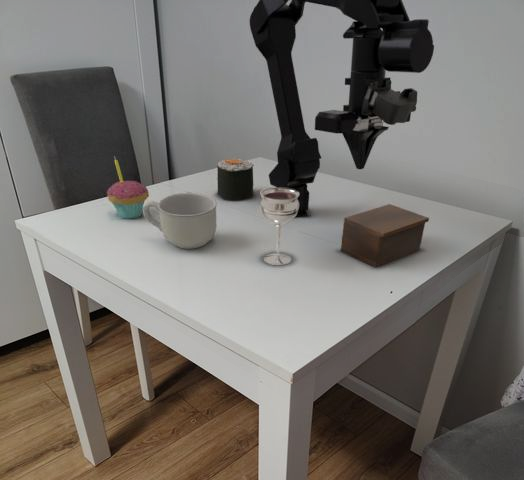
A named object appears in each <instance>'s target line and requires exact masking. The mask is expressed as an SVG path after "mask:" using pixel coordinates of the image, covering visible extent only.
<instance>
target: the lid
mask: <svg viewBox="0 0 524 480" xmlns="http://www.w3.org/2000/svg"><path fill="white" fill-rule="evenodd" d="M429 220H430V218H429V217H428V216H424V215H422V214H419V213H416V212H413V211H410V210H409V209H405V208H402V207H399V206H396V205H394V204H391V203H389V204H385V205H382V206H378V207H375V208H372V209H369V210H366V211H365V210H364V211H362V212H359V213H356V214H352V215H349V216H345V217H343V223H344V222H347V223H349V224H352V225H354V226H357V227H359V228H361V229H364V230H366V231H369V232H371V233H373V234H376V235H378V236H381V237H386V236H389V235H391V234H394V233H397V232H400V231H403V230H406V229H408V228H411V227H414V226H417V225H420V224H423V223H425V224H426V223H429Z"/></svg>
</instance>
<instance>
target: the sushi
mask: <svg viewBox="0 0 524 480" xmlns="http://www.w3.org/2000/svg"><path fill="white" fill-rule="evenodd" d="M217 163H218V165H217V195H218V196H219V197H220V198H221V199H223V200H226V201H233V202H235V201H241V200H246V199H251V198H252V197H253V196H254V166H255V165H254V164H253V163H252V162H250V161H248V160H244V159H239V158H232V157H230V158H229V159H222V160H221V161H218V162H217Z"/></svg>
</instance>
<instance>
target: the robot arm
mask: <svg viewBox="0 0 524 480" xmlns="http://www.w3.org/2000/svg"><path fill="white" fill-rule="evenodd" d="M288 2H289V0H259V1H258V2H257V4H256V5H255V6H254V8H253V10H252V12H251V14H250V16H249V28H250V33H251V35H252V38H253V42H254V46H255V47H256V48H257V50H258V51H259V53H260V54H261V56H262V57H263V58H264V59H265V62H266V65H267V71H268V75H269V76H268V77H269V80H270V86H271V91H272V96H273V100H274V105H275V110H276V111H275V112H276V116H277V121H278V125H279V126H278V127H279V132H280V141H279V144H278V148H277V152H276V156H277V164H276V165H275V166H274V168H272V170H271V171H270V172H269V173H268V179H269V180H268V181H269V185H271V186H273V187H284V188H291V189H294V190H296V191H298V192H299V193H300V194H299V196H298V198H297V200H298V201H299V210H298V213H297V215H296V216H295V217H306V216H308V210H309V206H310V205H309V203H310V191H309V189H308V184H313V183H314V182H315V179H316V175H317V173H318V171H319V169H320V168H321V159H322V156H321V153H320V150H319V141H318V138H317V137H313V138H312V137H310V136H309V134H308V132H306V127H305V121H304V116H303V111H302V106H301V100H300V95H299V94H300V93H299V88H298V83H297V78H296V73H295V67H294V62H293V56H292V52H293V48H294V45H295V41H296V38H297V32H296V30H297V29H296V26H297V24H298V23H299V22H300V20H301V19H302V18H303V15H304V10H305V4H306V3H310V4H316V5H321V6H325V7H331V8H335V9H337V10H339V11H340V12H341V13H342V15H344V16H346V17H348V18H350V19H352V20H354V21H352V23H351V24H350V27H348V28H347V29H346V30H345V31H344V32H343V34H342V38H343V39H344V40H345V39H347V40H348V39H352V48H351V64H350V76H349V77H345V78H344V86H349V93H348V104H343V105H342V106H343V107H342V110H337V109H330V110H322V111H318V112H317V114H316V116H315V117H314V131H319V132H325V133H330V134H342V136H343V138H344V141H345V142H346V144H347V147H348V149H349V152H350V154H351V158H352V160H353V162H354V166H355V169H357V170H364V168H365V166H366V165H367V162H368V159H369V157H370V154H371V152H372V150H373V147H374V145H375V143H376V140H377V139H378V137H379V136H380V135H382V134H383V133H384V132H385V131H388V130H389V129H390V126H394V125H397V124H405V123H409V122H410V121H411V115H412V113H414V112H416V110H417V104H418V91H417V90H416V89H414V88H413V87H409V88H404V89H403V90H402V91H400V90H397V91H396V90H393V89H392V80H391V77H386V74H387V72H391V73H415V74H420V73H423V72H424V71H425V70H426V69H427V68H428V67H429V65H430V63H431V61H432V59H433V56H434V51H435V44H434V39H433V35H432V32H431V31H430V29H429V23H430V22H429V21H430V20H429V19H426V18H424V19H423V18H422V19H412V20H410V17H409V14H408V11H407V10H406V8H405V5H404V2H403V0H290V2H289V4H287V3H288ZM384 123H385V124H386V125H390V126H385V125H384Z"/></svg>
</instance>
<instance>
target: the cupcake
mask: <svg viewBox="0 0 524 480" xmlns="http://www.w3.org/2000/svg"><path fill="white" fill-rule="evenodd" d="M113 158H114V164H115V168H116V171H117V175H118V178H119V181H116V182H115V183H113V184H112V185H110V187H109V188H108V189H107V190H106V195H107V198H108V201H109V202H111V204H112V205H113V207H114V208H115V209H116V212H117V214H118V216H119V217H120V218H122V219H136V218H139V217H141V216H142V214H143V207H144V205H145V201H146V200H147V199H148V198H149V197H150V196H149V195H150V194H149V190H148V187H146V186H145V185H143V184H142V183H141V182H138V181H136V180H132V179H131V180H124V178H123V174H122V171H121V167H120V164H119V161H118V159H117V158H116V156H115V155H114V156H113Z"/></svg>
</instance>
